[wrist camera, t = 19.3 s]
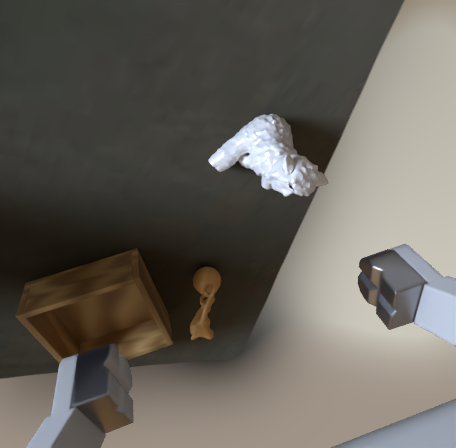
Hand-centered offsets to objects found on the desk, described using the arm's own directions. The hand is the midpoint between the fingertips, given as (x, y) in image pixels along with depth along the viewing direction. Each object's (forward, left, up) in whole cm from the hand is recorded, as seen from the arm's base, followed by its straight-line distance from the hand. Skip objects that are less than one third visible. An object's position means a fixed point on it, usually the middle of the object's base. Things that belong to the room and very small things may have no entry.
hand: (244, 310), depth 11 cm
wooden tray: (-16, -26, -29) cm, 42 cm away
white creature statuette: (+9, -9, -29) cm, 32 cm away
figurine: (-2, -26, -29) cm, 39 cm away
